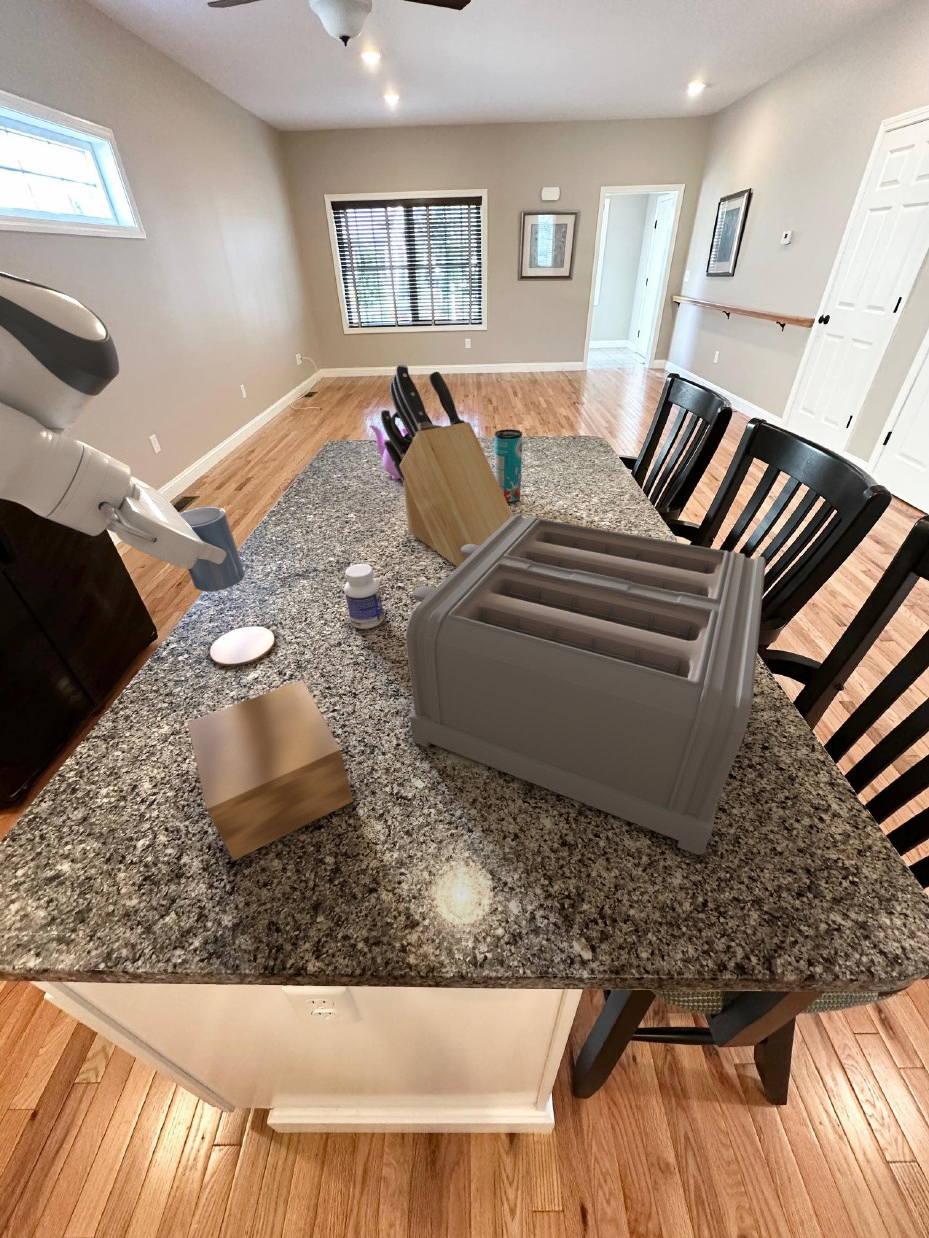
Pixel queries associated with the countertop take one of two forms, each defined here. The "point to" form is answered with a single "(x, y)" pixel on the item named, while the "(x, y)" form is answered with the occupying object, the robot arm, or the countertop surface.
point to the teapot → (386, 452)
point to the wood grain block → (268, 767)
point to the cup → (216, 531)
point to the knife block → (442, 472)
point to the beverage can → (508, 463)
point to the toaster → (593, 667)
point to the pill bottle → (363, 597)
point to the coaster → (242, 646)
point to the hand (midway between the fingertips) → (213, 546)
